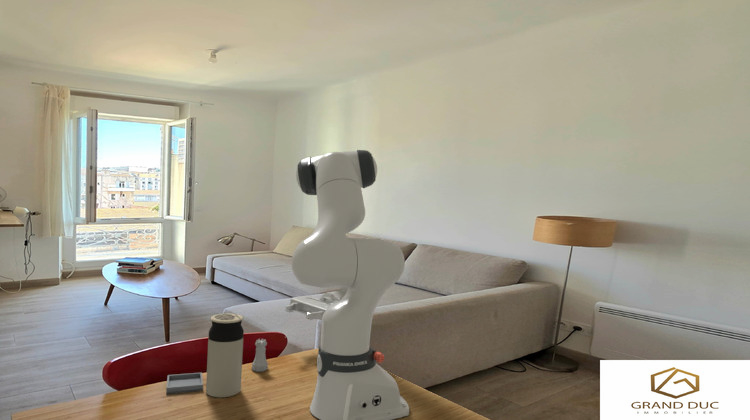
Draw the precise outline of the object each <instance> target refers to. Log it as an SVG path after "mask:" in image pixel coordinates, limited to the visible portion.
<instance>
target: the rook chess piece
mask: <svg viewBox="0 0 750 420" xmlns="http://www.w3.org/2000/svg"><path fill="white" fill-rule="evenodd" d="M254 345H255V347H256V348H255V357H254V360H253V362H252V363H251V370H252V372H256V373H261V372H262V373H263V372H267V370H268V369H269V366H268V365H269V363H268V361H267V358H266V357H267V356H266V350H267V348H266V346H267V345H268V342H267V339H264V338H258V339H256V341H255V343H254Z"/></svg>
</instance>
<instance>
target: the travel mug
mask: <svg viewBox="0 0 750 420" xmlns="http://www.w3.org/2000/svg"><path fill="white" fill-rule="evenodd" d="M243 320H244V317H243V315H241V314H238V313H230V312H229V313H218V314H214V315H212V316H211V317H210V321H211V326H210V328H209V330H208V341H207V357H206V358H207V360H206V361H207V362H206V364H207V365H206V381H205V386H206V387H205V393H206V394H207V395H208V396H210V397H213V398H220V399H221V398H222V399H223V398H224V399H225V398H229V397H232V396H234V395H237V394H239V393H240V392H241V390H242V371H243V370H242V369H243V352H244V350H243V349H244V333H245V331H244V327H243V326H242V322H243Z"/></svg>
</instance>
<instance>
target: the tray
mask: <svg viewBox="0 0 750 420" xmlns="http://www.w3.org/2000/svg"><path fill="white" fill-rule="evenodd" d="M166 380H167V381H166V395H171V394H172V395H174V394H183V393H184V394H185V393H193V392H194V393H195V392H203V391H204V382H203V372H193V373H191V372H190V373H189V372H188V373H180V374H178V373H177V374H168V375H167V379H166Z"/></svg>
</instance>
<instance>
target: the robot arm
mask: <svg viewBox="0 0 750 420" xmlns="http://www.w3.org/2000/svg"><path fill="white" fill-rule="evenodd" d="M377 175H378V165H377V162H376V159H375V158H374V157H373V154H372V153H371V152H370V151H369V150H365V149H362V150H361V149H357V150H356V151H355V150H354V151H353V150H351V151H350V150H349V151H348V150H347V151H331V152H328V153H327V152H326V153H323V154H319V155H315V156H308V157H305V158H302V159H301V160H300V161H299V162H298V164H297V167H296V172H295V177H296V183H297V184H298V185H297V186H298V187H299V188H300V190H301V192H302V193H304V194H305V195H307V196H308V195H309V196H316V199H317V212H318V213H317V215H318V216H317V217H318V218H317V223H316V226H315V228H314V230H313V231H312V232H311V234H310V235H309V236H307V237H306V238H305V239H303V240H302V241H301V242H300V243H299V244H297V246H296V248H295V249H294V251H293V254H292V257H291V269H292V272H293V274H294V277H295V278H296V280H297V281H298V282H299V283H300V284H302V285H306V286H311V287H315V288H316V287H317V288H323V289H324V288H325V289H326V288H328V289H329V288H339V290H334V291H328V292H324V293H323V294H322V295H321V297H320V298H317V297H315V296H309V295H303V296H294V297H291V298H290V300H289V301H290V302H289V304H288V305H286V306H285V312H287V313H294V311H295V312H298V313H301V314H304V315H306V316H305V318H306V319H307V320H309V321H311V320H320V321H321V331H320V345H319V346H318V352H317V358H316V359H317V361H316V372H317V379H316V385H315V390H314V393H313V398H312V400H311V402H310V406H309V412H310V413H311V415H312V416H313V417H314V418H316V419H319V420H395V419H401V418H403V417H407V416H409V415H410V406H409V404H408V402H407V401H406V399H405V398H403V396H402V395H400V389H399V386H398V383H397V381H396V379H395V378H394V377H393V376H392V375H391V374H389V372H387V371H386V369H384V368H383V367H381V366H380V365H379V364H381V363H383V362H384V361H385V355H384V354H383V353H382V352H381V351H377V350H376V349H375V348H373V347H371V346H370V344H371V343H370V342H371V332H372V325H373V318H374V314H375V310H376V308H377V307H378V306H377V305H378V304H379V302H380V300H381V298H383V295H384V294H386V292H387V291H388V289H390V287H393V285H394V284H396V283H397V282H398V281H399V280H400V279H401V278H402V275H403V274H404V270H405V255H404V253H403V251H402V249H401V247H400V246H399V245H398V243H395V242H392V241H388V240H384V239H379V238H359V237H358V238H354V237H348V236H347V235H346V234H348V233H351V232H353V231H354V230H356V229H357V228H359V226H361V224H362V223H363V221H365V217H366V207H365V202H364V196H363V193H362V192H363V191H362V189H366V188H368V187H371V186H372V185H374V183H375V182H376V178H377ZM378 363H379V364H378Z"/></svg>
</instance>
